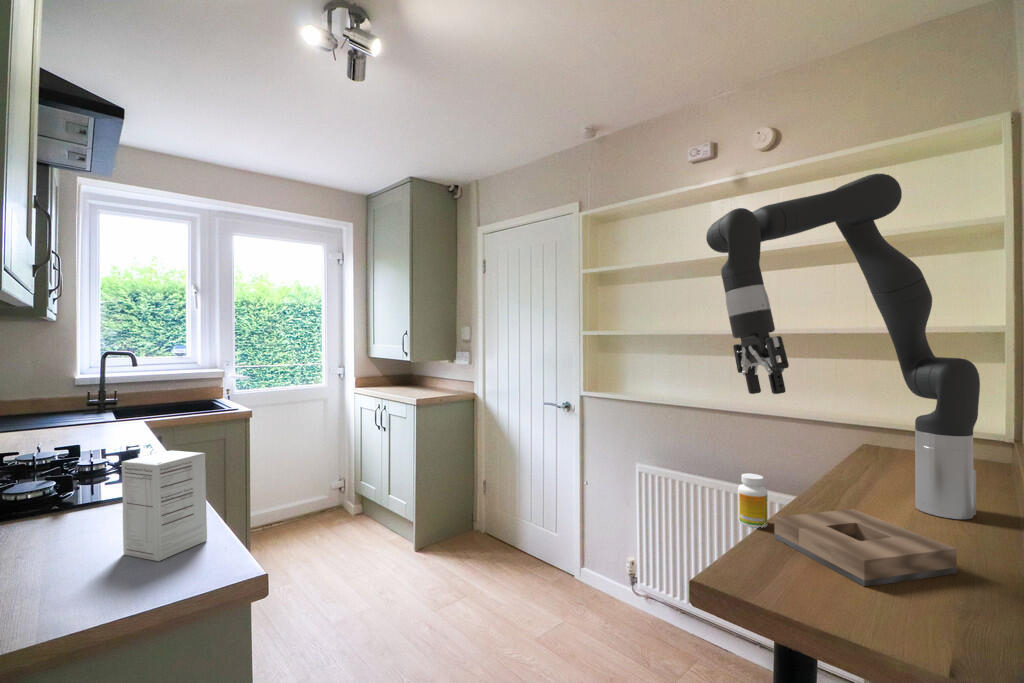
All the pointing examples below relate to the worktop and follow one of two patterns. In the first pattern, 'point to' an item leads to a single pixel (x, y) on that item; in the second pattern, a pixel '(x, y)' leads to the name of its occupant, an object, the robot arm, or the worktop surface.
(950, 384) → the robot arm
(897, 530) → the socket block
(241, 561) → the worktop surface
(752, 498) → the supplement bottle
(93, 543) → the worktop surface
